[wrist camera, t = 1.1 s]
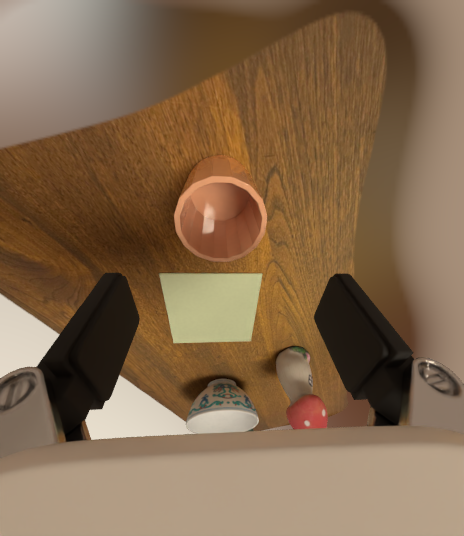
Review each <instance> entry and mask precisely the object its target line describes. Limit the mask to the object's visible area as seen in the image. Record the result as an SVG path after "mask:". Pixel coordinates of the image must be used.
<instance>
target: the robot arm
mask: <svg viewBox="0 0 464 536" xmlns="http://www.w3.org/2000/svg"><path fill="white" fill-rule="evenodd" d="M314 320H315V323H316V325H317V327H318V329H319V332H320V334H321V336H322V338H323V340H324V342H325V345H326V347H327V349H328V351H329V353H330V355H331V358H332V360H333V362H334V364H335V366H336V369H337V371H338V373H339V375H340V377H341V379H342V382H343V384H344V386H345V388H346V390H347V391H348V392H351V394H352V397H353V398H354V400H361V399H368V401H369V403H370V405H371V407H370V412H369V417H368V422H367V426H365V427H341V428H340V427H339V428H314V429H291V430H269V431H247V432H225V433H204V434H185V435H166V436H145V437H126V438H112V439H99V440H91V438H90V435H89V431H88V428H87V425H86V422H85V419H86V417H87V414H88V412H89V410H93V409H102V408H103V405H104V403H105V401H107V400H109V399H110V397H111V395H112V392H113V390H114V387H115V385H116V382H117V379H118V377H119V374H120V371H121V369H122V366H123V364H124V361H125V358H126V356H127V353H128V351H129V348H130V345H131V343H132V340H133V337H134V335H135V332H136V330H137V327H138V324H139V314H138V311H137V308H136V305H135V302H134V299H133V296H132V293H131V290H130V287H129V284H128V281H127V278H126V277H125V276H122V274H121V273H105V274H104V275H103V276H102V277H101V279H100V280H99V282H98V283H97V284H96V286H95V287H94V289H93V290H92V291H91V293H90V294H89V296H88V297H87V298H86V300H85V301H84V303H83V304H82V305H81V306H80V307H79V309H78V310H77V312H76V313H75V314H74V316H73V317H72V318H71V320H70V321H69V323H68V324H67V325H66V327H65V328H64V330H63V331H62V332H61V334H60V335H59V337H58V338H57V340H56V341H55V342H54V344H53V345H52V346H51V348H50V349H49V350H48V352H47V353H46V355H45V356H44V357H43V359H42V360H41V362H40V363H39V365H38V366H37V367H25V368H20V369H17V370H15V371H13V372H10V373H8V374H7V375H5V376H4V377H2V378H0V536H464V384H463V383H462V382H461V380H460V379H459V378H458V376H456V374H455V373H453V372H452V371H451V370H450V369H449V368H447V367H446V366H444V365H443V364H441V363H439V362H437V361H434V360H432V359H430V358H424V357H421V358H416V359H415V360H414V358H413V357H412V356H411V355H412V354H413V352H412V350H411V349H410V348H409V347H408V345H407V344H406V343H405V342H404V341H403V339H402V338H401V337H400V336H399V334H398V333H397V332H396V331H395V329H394V328H393V327H392V326H391V324H390V323H389V322H388V321H387V320H386V318H385V317H384V316H383V315H382V313H381V312H380V311H379V310H378V308H377V307H376V306H375V305H374V303H372V301H371V300H370V299H369V297H368V296H367V295H366V294H365V292H364V291H363V290H362V289H361V287H360V286H359V285H358V284H357V282H356V281H355V280H354V279H353V278H352V276H351V275H350V274H335V275H334V276H333V277H331V278H330V279H329V281H328V284H327V286H326V289H325V291H324V293H323V296H322V298H321V300H320V303H319V305H318V308H317V310H316V312H315V315H314Z"/></svg>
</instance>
